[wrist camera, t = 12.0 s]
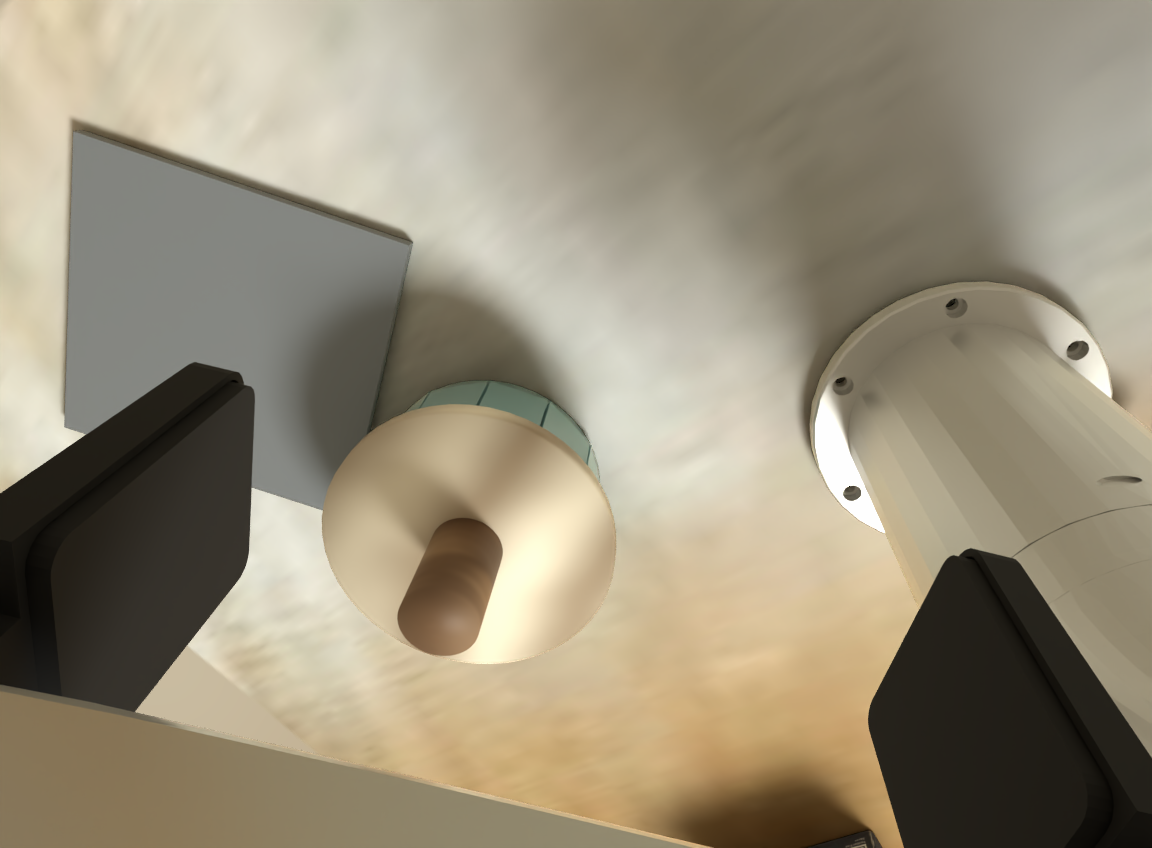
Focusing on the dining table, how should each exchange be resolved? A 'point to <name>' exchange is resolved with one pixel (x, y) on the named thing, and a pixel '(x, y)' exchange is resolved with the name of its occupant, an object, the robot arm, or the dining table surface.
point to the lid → (470, 534)
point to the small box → (853, 841)
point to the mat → (227, 306)
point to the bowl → (515, 410)
